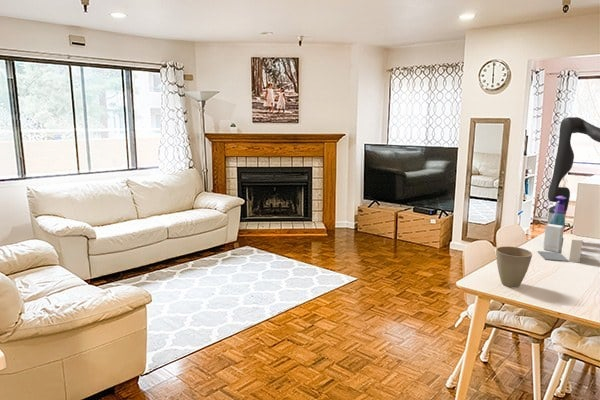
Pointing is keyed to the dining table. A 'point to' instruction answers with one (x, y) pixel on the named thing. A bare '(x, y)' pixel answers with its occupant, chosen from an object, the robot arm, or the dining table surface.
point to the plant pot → (512, 264)
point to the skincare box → (553, 237)
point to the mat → (552, 256)
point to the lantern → (559, 212)
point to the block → (571, 247)
